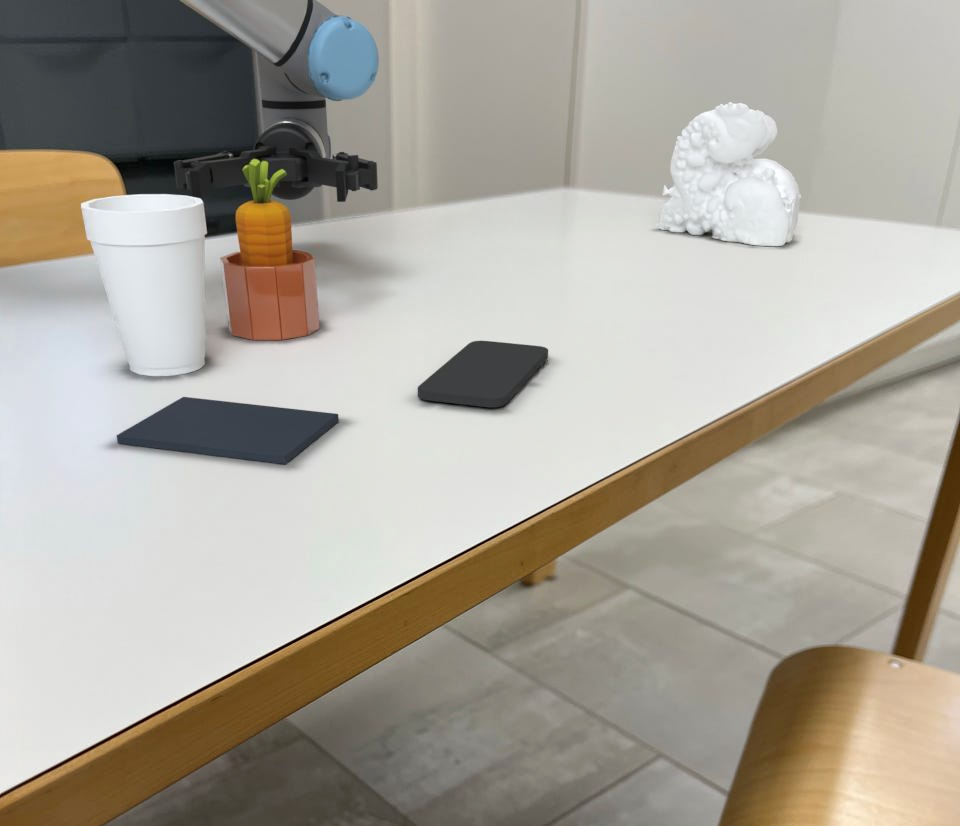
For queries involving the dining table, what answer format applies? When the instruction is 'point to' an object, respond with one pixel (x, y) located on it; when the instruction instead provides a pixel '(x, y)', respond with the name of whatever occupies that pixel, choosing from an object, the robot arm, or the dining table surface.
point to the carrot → (263, 221)
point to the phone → (484, 374)
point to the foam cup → (153, 277)
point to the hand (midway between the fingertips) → (268, 186)
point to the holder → (271, 298)
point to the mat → (230, 429)
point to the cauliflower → (730, 180)
